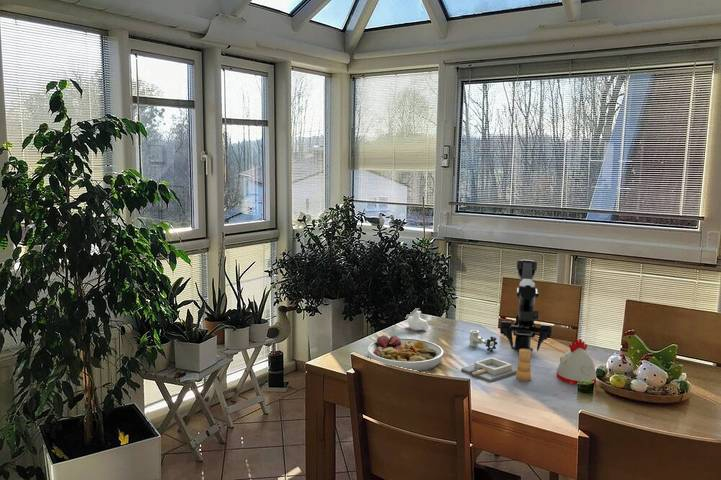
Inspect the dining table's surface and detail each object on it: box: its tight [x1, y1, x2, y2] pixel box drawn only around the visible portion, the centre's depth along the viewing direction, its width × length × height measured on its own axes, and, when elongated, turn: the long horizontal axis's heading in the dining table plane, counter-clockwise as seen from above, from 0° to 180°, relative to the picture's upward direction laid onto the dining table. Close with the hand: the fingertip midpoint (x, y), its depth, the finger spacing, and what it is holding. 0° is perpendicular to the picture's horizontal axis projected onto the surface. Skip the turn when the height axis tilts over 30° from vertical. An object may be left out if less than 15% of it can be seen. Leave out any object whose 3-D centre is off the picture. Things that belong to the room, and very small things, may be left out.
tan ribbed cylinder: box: [515, 349, 532, 382], centre depth 222 cm, size 5×5×11 cm
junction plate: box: [460, 356, 518, 383], centre depth 230 cm, size 21×14×3 cm, turn 127°
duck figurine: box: [406, 309, 429, 331], centre depth 282 cm, size 12×8×11 cm
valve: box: [469, 329, 498, 353], centre depth 257 cm, size 7×7×12 cm
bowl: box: [367, 334, 444, 372], centre depth 240 cm, size 30×30×8 cm
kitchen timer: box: [556, 338, 597, 386], centre depth 223 cm, size 14×14×15 cm
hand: (524, 349), depth 224 cm, fingers open, 9 cm apart
